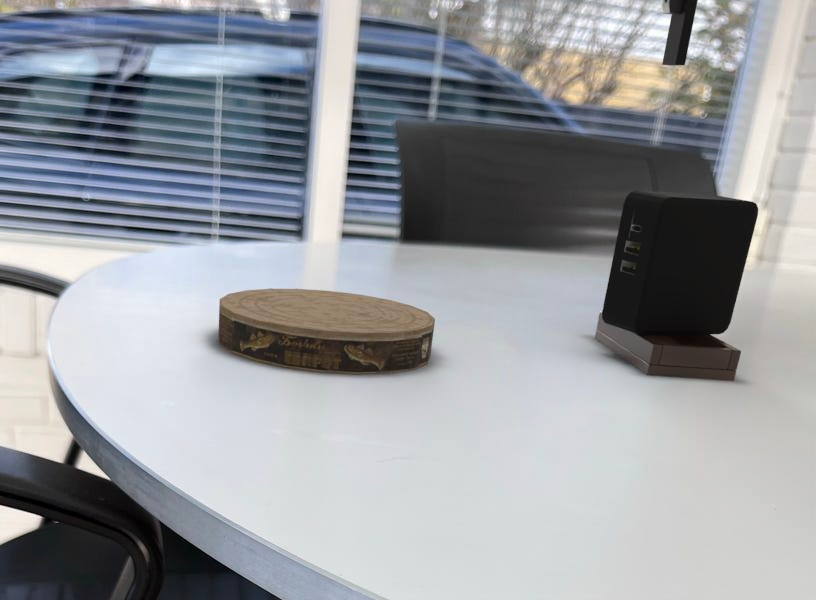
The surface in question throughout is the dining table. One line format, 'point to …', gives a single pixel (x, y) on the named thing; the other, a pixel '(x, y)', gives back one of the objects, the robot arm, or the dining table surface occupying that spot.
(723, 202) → the electronic device
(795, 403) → the dining table surface
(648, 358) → the brown box
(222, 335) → the tin can
